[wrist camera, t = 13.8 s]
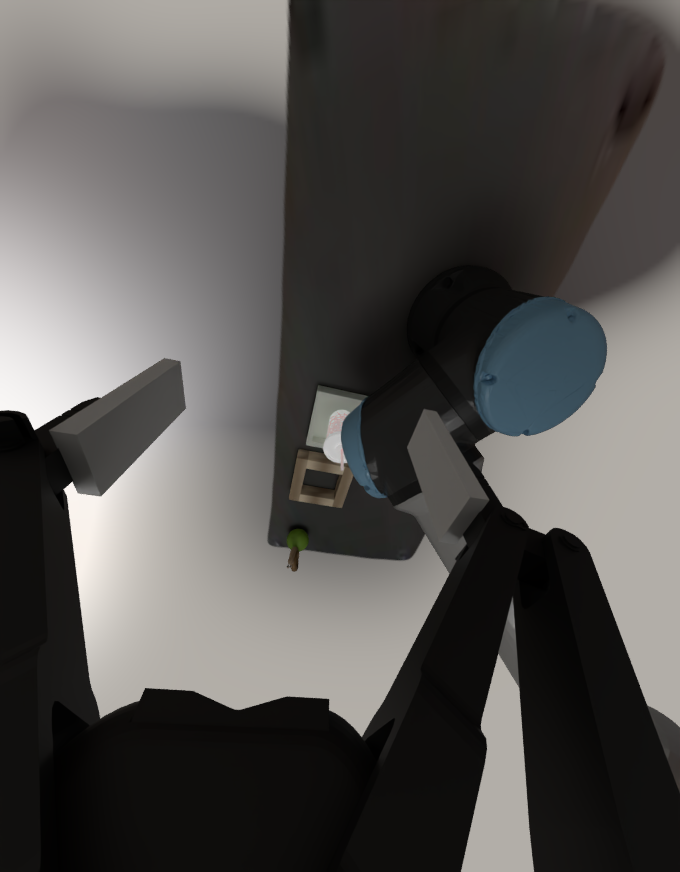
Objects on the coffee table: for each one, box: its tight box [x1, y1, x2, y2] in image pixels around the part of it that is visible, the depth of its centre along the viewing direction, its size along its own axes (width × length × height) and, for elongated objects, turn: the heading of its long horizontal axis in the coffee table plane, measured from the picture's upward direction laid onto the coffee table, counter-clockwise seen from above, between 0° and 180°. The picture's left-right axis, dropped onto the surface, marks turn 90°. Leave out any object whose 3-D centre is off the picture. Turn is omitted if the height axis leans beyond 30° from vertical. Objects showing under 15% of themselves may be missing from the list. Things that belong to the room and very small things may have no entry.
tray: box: [306, 385, 368, 448], centre depth 51 cm, size 12×12×2 cm
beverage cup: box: [323, 410, 350, 471], centre depth 46 cm, size 6×6×14 cm
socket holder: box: [289, 449, 353, 508], centre depth 59 cm, size 12×12×3 cm
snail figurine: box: [287, 529, 309, 571], centre depth 66 cm, size 5×6×12 cm
